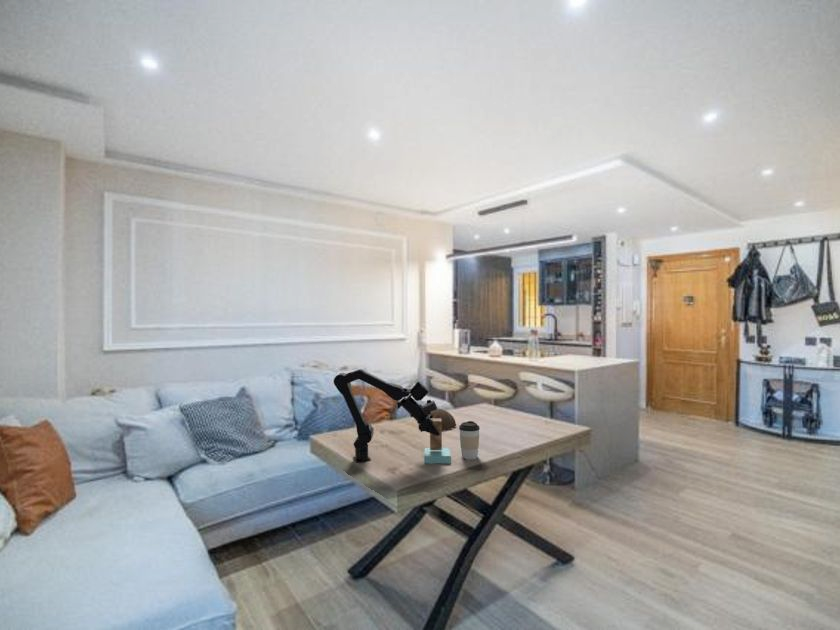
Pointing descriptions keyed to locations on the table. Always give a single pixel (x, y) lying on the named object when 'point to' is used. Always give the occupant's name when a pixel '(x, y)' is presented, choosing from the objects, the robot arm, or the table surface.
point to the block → (434, 439)
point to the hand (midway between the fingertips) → (438, 433)
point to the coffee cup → (469, 439)
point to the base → (437, 456)
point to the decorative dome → (444, 418)
